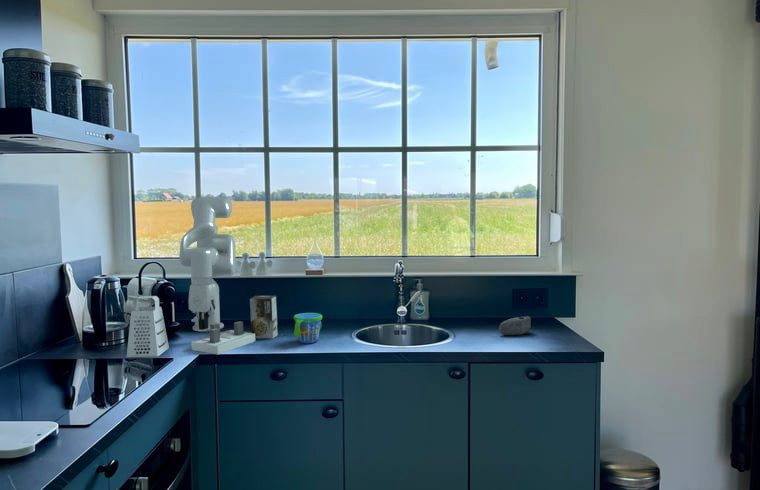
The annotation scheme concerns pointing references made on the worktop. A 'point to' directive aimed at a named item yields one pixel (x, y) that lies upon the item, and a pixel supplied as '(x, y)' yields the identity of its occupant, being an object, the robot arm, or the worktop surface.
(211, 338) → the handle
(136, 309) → the grater
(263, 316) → the coffee box
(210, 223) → the robot arm
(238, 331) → the gray rectangular block
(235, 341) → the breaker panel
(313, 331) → the snack cup
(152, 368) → the worktop surface
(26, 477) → the worktop surface
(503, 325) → the perforated stone tool
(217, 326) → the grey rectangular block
